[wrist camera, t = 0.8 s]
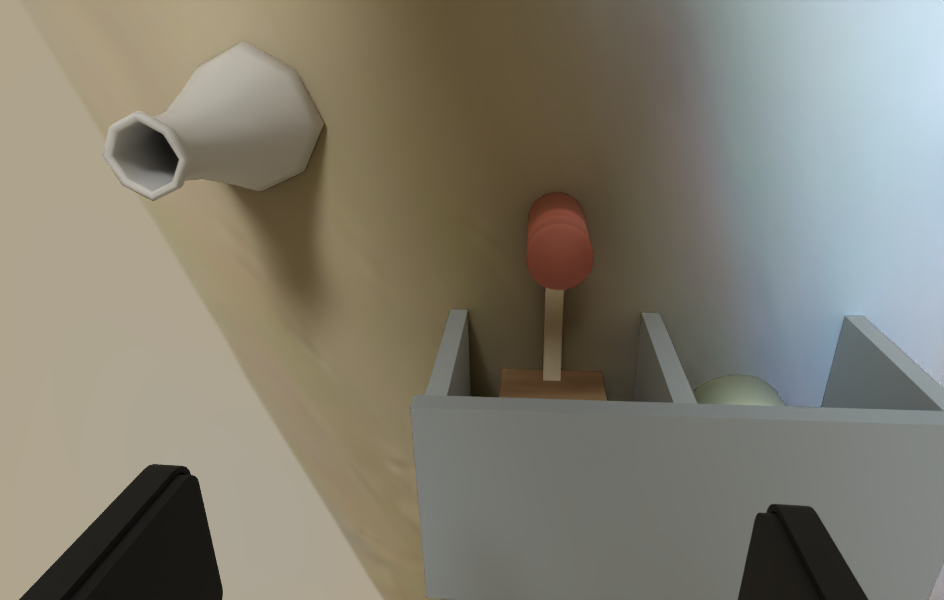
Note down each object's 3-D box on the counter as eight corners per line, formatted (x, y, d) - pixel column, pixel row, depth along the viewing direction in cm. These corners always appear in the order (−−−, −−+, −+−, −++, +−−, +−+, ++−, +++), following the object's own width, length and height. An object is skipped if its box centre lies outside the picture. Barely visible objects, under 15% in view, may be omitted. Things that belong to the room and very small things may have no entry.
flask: (266, 212, 34) (168, 281, 25) (163, 114, 32) (18, 150, 23) (349, 123, 32) (273, 165, 23) (242, 12, 30) (113, 8, 21)
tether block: (500, 192, 32) (493, 227, 27) (614, 192, 32) (630, 228, 26) (502, 447, 39) (497, 515, 34) (595, 450, 39) (605, 520, 33)
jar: (686, 373, 36) (718, 448, 29) (792, 376, 35) (848, 453, 29) (675, 453, 38) (702, 539, 32) (774, 457, 38) (821, 545, 31)
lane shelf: (442, 309, 36) (410, 407, 27) (873, 316, 33) (999, 426, 24) (451, 469, 41) (426, 597, 32) (826, 485, 38) (915, 629, 29)
